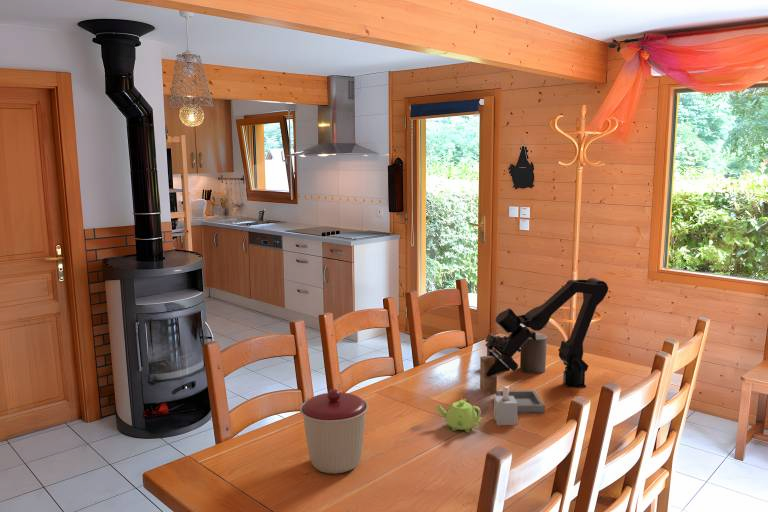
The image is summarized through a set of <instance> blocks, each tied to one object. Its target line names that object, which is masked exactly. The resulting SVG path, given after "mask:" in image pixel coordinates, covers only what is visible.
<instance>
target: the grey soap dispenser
mask: <svg viewBox="0 0 768 512" xmlns="http://www.w3.org/2000/svg"><path fill="white" fill-rule="evenodd" d="M502 391H503V396H496V395H494V396H493V397H494V398H493V402H494V403H493V406H494V407H493V418H494V420H495V422H496V425H497V426H516V425H518V414H517V406H518V403H517V401H516V399H515V398H514V396H509V391H510V387H509V386H507V385H504V386H502Z"/></svg>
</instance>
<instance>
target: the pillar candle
mask: <svg viewBox="0 0 768 512" xmlns="http://www.w3.org/2000/svg"><path fill="white" fill-rule="evenodd" d="M534 332H535V333H536V341H534V340H533V339H531V338H529V339H528V340H527V341H526V342H525V343H524V344H523V346H521V348H520V349H521V351H520V352H519V354H520V358H519V361H520V362H519V370H520V371H521V372H523V373H525V374H526V373H527V374H529V375H530V374H531V375H540V374H543V373H545V372H546V364H547V343H548V342H547V341H548V336H547V335H546V334H543V333H539V332H537V331H534Z"/></svg>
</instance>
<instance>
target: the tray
mask: <svg viewBox="0 0 768 512" xmlns="http://www.w3.org/2000/svg"><path fill="white" fill-rule="evenodd" d="M495 394H496V395H495V396H503V390H497V391H496V393H495ZM509 396H514V398H515V399H516V401H517V403H518V406H517V415H534V414H537V415H539V414H540V415H541V414H542V415H544V414H545V404H544V402H543V401H542V400H541V398H540V396H539V394H538V393H537V392H536V390H533V389H532V390H529V389H528V390H509Z"/></svg>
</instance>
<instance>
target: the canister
mask: <svg viewBox="0 0 768 512" xmlns="http://www.w3.org/2000/svg"><path fill="white" fill-rule="evenodd" d="M368 410H369V403H368V402H367V401H366V400H365V399H364V398H362V397H360V396H358V395H356V394H353V393H348V392H340V390H339V389H336V388H334V389H330V390H329V391H328V392H325V393H321V394H318V395H315V396H312V397H310V398H309V399H307V400H305V401H304V402H303V403H302V404H301V405H300V407H299V411H300V414H301V415H302V417H303V418H302V420H303V424H304V431H305V436H306V437H305V438H306V439H305V440H306V445H307V449H308V456H309V460H310V462H311V464H312V466H313V467H314V468H315V469H316V470H317V471H319V472H321V473H326V474H329V475H330V474H334V475H335V474H336V475H337V474H343V473H347V472H349V471H351V470H353V469H355V468H356V467H357V466H358V465H359V463H360V461H361V458H362V453H363V452H362V451H363V445H364V436H365V426H366V425H365V424H366V414H367V412H368Z"/></svg>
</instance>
